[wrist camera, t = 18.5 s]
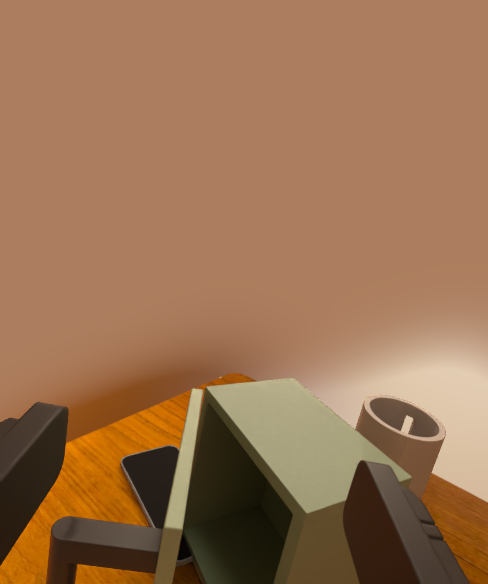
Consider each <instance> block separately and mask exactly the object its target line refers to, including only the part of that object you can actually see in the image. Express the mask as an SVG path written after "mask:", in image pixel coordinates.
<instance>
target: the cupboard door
mask: <svg viewBox="0 0 488 584" xmlns="http://www.w3.org/2000/svg"><path fill="white" fill-rule="evenodd" d="M202 395H203V390H200V389H194V388H192V391H191V396H190V401H189V405H188V410H187V415H186V420H185V425H184V430H183V435H182V440H181V445H180V450H179V455H178V459H177V464H176V469H175V474H174V479H173V484H172V489H171V494H170V499H169V504H168V509H167V513H166V518H165V523H164V528H163V529H160V528H152V527H145V526H138V525H130V524H123V523H115V522H108V521H101V520H93V519H86V518H79V517H71V516H68V517H63V518H61V519H59V520H58V521H56V522H55V523H54V525H53V526H52V529H51V537H50V548H49V558H48V569H47V580H46V584H75V579H76V570H77V564H83V565H90V566H98V567H106V568H114V569H122V570H130V571H138V572H146V573H154V574H155V578H154V583H153V584H172V582H173V577H174V572H175V567H176V561H177V556H178V551H179V546H180V541H181V536H182V531H183V525H184V518H185V511H186V504H187V497H188V491H189V484H190V477H191V470H192V463H193V456H194V450H195V443H196V436H197V429H198V422H199V415H200V409H201V402H202Z"/></svg>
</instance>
